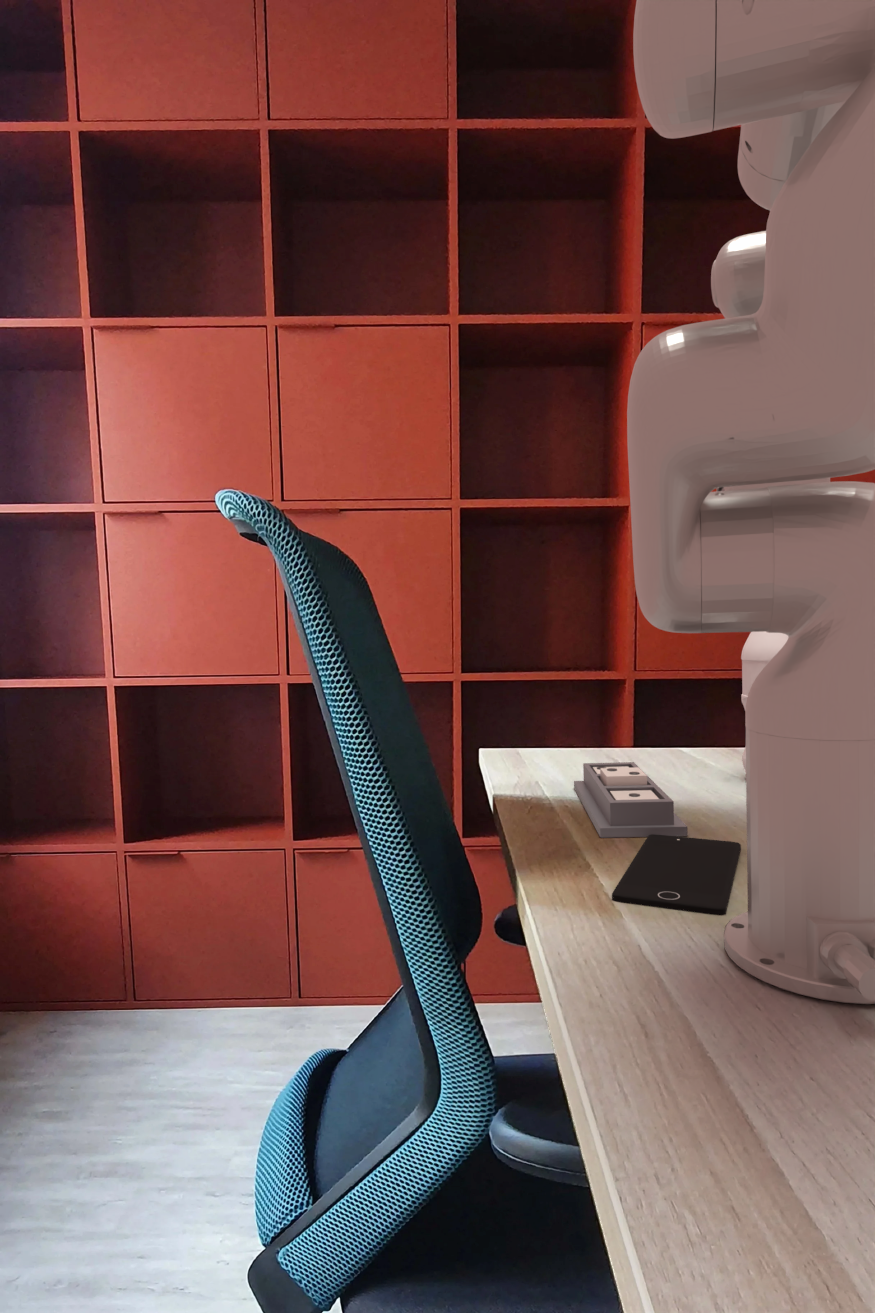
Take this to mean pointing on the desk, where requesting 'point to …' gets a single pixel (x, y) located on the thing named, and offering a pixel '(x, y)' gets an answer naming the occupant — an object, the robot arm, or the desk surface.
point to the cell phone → (681, 874)
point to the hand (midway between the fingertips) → (771, 572)
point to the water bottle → (757, 660)
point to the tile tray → (627, 807)
